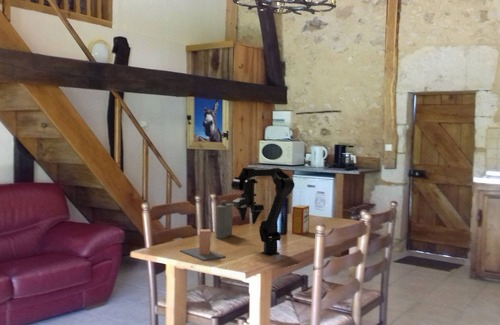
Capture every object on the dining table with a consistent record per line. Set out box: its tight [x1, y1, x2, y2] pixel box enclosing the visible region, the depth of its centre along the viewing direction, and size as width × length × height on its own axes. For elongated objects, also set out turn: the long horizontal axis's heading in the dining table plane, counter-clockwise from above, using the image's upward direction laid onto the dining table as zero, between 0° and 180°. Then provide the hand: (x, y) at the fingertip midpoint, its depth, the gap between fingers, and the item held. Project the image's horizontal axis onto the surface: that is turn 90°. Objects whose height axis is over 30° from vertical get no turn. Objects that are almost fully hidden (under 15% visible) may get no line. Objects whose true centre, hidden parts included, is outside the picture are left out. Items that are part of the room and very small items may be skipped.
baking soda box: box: [291, 204, 310, 236], centre depth 312 cm, size 10×6×16 cm
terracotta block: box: [198, 228, 211, 254], centre depth 256 cm, size 5×5×11 cm
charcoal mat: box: [179, 247, 226, 262], centre depth 256 cm, size 22×12×1 cm, turn 36°
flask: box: [215, 200, 234, 240], centre depth 298 cm, size 15×6×20 cm, turn 160°
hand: (248, 222), depth 271 cm, fingers open, 9 cm apart
